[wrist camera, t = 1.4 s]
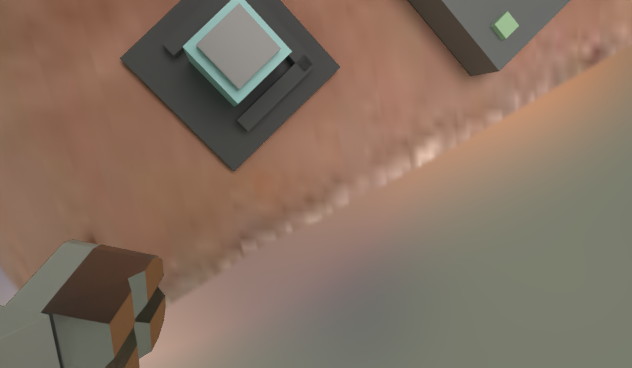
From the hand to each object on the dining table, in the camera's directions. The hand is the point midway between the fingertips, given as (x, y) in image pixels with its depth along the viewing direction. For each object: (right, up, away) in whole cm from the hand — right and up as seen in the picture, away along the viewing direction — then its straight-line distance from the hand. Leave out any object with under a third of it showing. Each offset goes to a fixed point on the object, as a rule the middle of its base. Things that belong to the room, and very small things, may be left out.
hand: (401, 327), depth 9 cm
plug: (-7, +10, +26) cm, 29 cm away
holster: (-7, +10, +27) cm, 30 cm away
